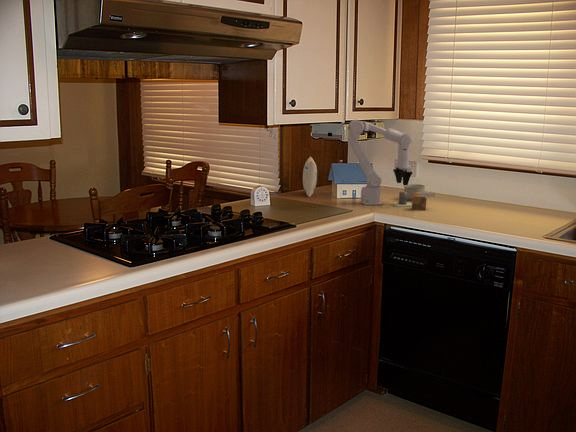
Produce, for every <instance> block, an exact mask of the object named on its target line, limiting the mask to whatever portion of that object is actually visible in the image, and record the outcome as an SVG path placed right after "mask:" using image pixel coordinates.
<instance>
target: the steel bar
mask: <svg viewBox="0 0 576 432" xmlns="http://www.w3.org/2000/svg"><path fill="white" fill-rule="evenodd" d="M414 197H425V198H435V197H436V192H433V191H425V192H414Z"/></svg>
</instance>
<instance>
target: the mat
mask: <svg viewBox="0 0 576 432" xmlns="http://www.w3.org/2000/svg"><path fill="white" fill-rule="evenodd" d="M390 205H392V206H393V207H396V208H402V207H403V208H405V207H406V208H407V207H408V208H409V207H412V203H411V202H409V201H407V204H406V205H401V204H399V201H398V202H390Z"/></svg>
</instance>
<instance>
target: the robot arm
mask: <svg viewBox="0 0 576 432" xmlns="http://www.w3.org/2000/svg"><path fill="white" fill-rule="evenodd" d="M368 131H371V132H374V133H376V134H380V135H383V137H384V139H386V140H388V141H391V142H393V143H396V144H397V146H398V148H397V163H396V164H394V169H392V170H393V173H394V176H395V180H396V183H397V184H403V186H404V185H408V184H409V182H410V178H411V176H412V175H413V174H414V173H413V171H412V167H411V165H409V164H410V145H411V143H412V138H411V136H410V135H409V134H407V133H405V132H403V131H398V130H396V129H395V127H388V128H386V129H385V128H383V127H381V126H378V125H376V124H373V123H371V122H369V121H363V120H358V119H353V120H351V121H350V122H349V125H348V127H347V137H346V138H347V140H346V141H347V144H348V145H349V147H350V149H351V150H352V152H353V154H354V156H355V158H356V159H357V161H358V163H359V165H360V167H361V168H362V170H363V173H364V175H365V180H366V182H367V183H366V185H365V186H362V187H361V188H360V190H361V191H360V201H359V203H361V204H363V205H365V206H372V205H373V206H375V205H377V206H378V205H382V206H383V203H382V202H381V199H380V198H381V184H382V181H383V180H382V177H381V176H380V175H379V174H377V172H376V170H375V168H373V166H372V164H371V162H370V160H369V159H368V157H367V155H366V154H365V151H364V150H363V148H362V146H361V145H360V143H359V138H360V135H361V134H362V133H363V132H368Z"/></svg>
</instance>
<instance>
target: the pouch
mask: <svg viewBox="0 0 576 432" xmlns="http://www.w3.org/2000/svg"><path fill="white" fill-rule="evenodd" d="M317 166H318V165H317V164H316V162H315V161H314V159H313V157H312V156H311V155H310V156H309V157H308V159H307V160H306V161H305V164H304V165H303V170H302V172H303V173H302V186H303V190H304V192H305V193H306V196H307V197H308V198H310V197H312V195H313V194H314V191H315V189H316V187H317V183H318V182H317V181H318V167H317Z"/></svg>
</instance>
